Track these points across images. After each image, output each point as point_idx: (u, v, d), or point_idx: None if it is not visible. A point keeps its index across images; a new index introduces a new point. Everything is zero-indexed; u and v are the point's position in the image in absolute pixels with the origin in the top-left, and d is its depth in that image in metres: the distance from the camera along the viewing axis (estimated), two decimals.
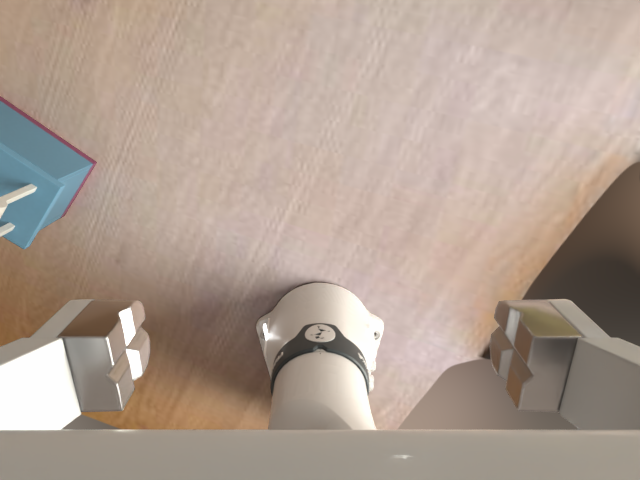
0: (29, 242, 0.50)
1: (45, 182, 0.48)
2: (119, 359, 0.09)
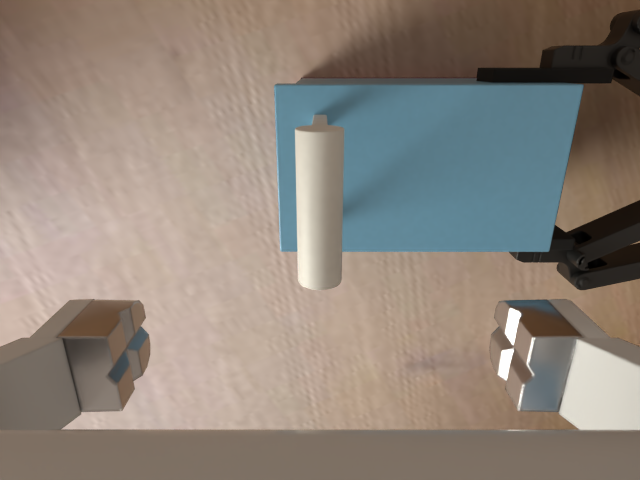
0: None
1: None
2: (119, 359, 0.09)
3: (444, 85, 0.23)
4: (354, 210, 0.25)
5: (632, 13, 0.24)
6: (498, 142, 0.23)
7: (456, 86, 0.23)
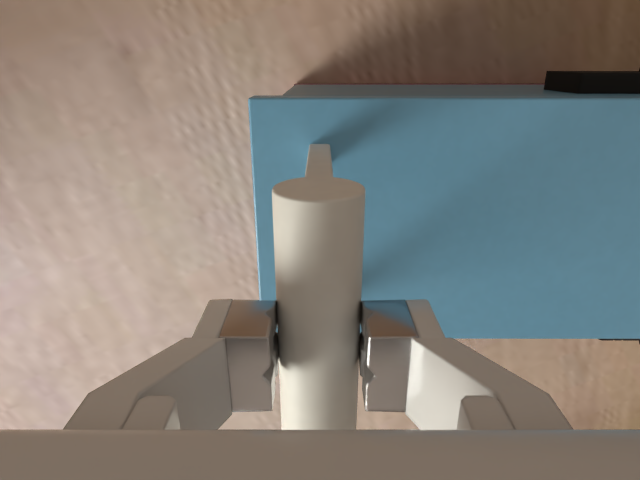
0: None
1: None
2: None
3: (513, 99, 0.14)
4: (370, 282, 0.17)
5: None
6: (591, 185, 0.15)
7: (532, 100, 0.14)
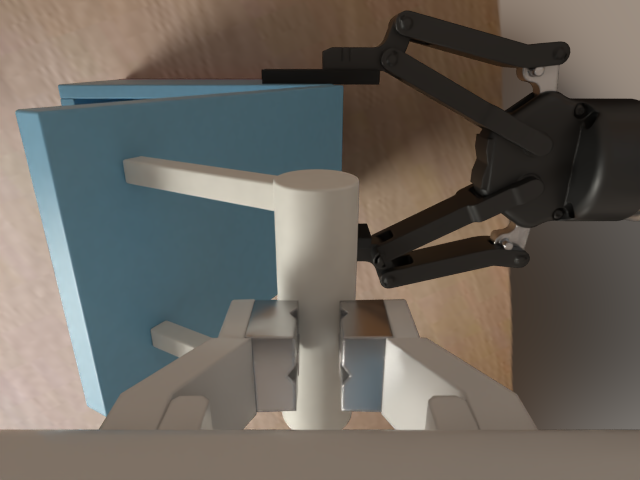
0: (39, 151, 0.11)
1: None
2: None
3: (260, 93, 0.17)
4: (198, 290, 0.16)
5: (396, 16, 0.24)
6: (304, 153, 0.21)
7: (269, 94, 0.18)
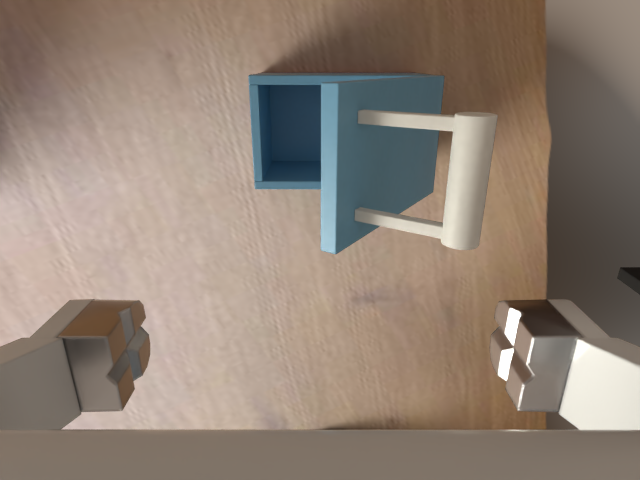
0: (332, 102, 0.22)
1: (349, 239, 0.26)
2: (119, 359, 0.09)
3: (407, 78, 0.29)
4: (372, 194, 0.28)
5: None
6: None
7: (411, 79, 0.29)
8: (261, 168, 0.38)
